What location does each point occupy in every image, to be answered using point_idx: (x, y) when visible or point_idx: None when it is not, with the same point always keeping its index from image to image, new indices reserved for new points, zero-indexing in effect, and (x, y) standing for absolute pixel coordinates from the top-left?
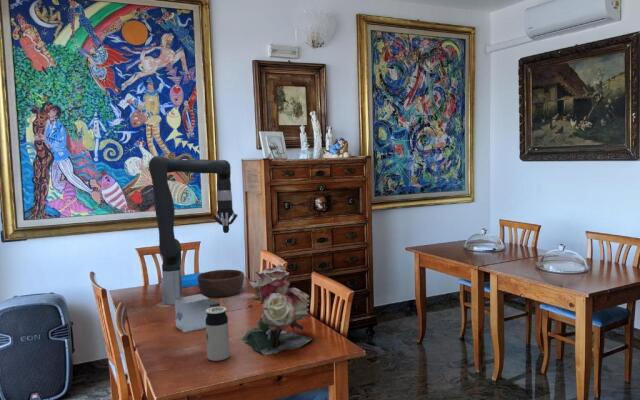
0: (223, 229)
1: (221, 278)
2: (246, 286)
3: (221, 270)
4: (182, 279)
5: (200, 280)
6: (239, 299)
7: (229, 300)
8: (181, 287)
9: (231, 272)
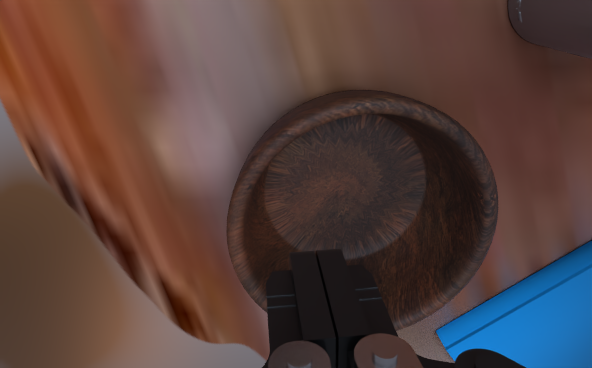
0: (368, 293)
1: None
2: None
3: None
4: (571, 312)
5: (464, 128)
6: (210, 65)
7: (260, 45)
8: (556, 4)
9: None
